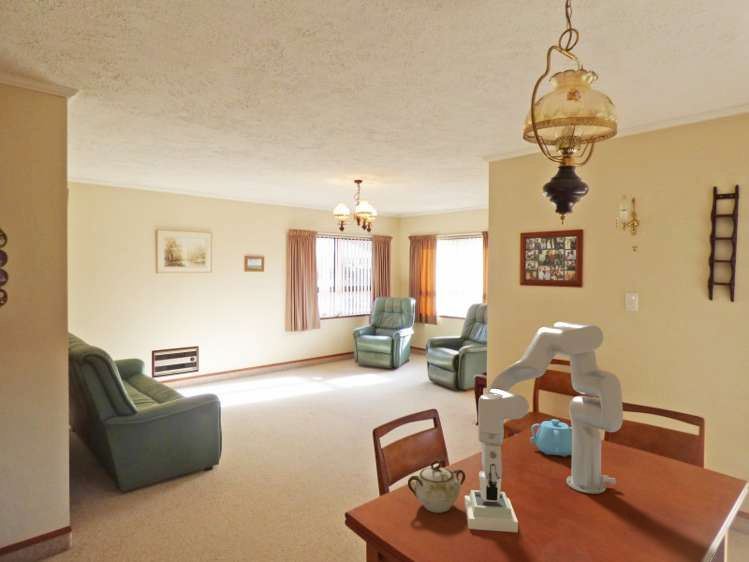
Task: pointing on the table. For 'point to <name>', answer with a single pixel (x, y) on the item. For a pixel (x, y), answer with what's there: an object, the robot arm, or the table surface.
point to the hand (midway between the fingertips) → (490, 493)
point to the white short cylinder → (484, 483)
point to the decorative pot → (553, 438)
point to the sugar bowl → (437, 487)
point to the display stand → (490, 513)
